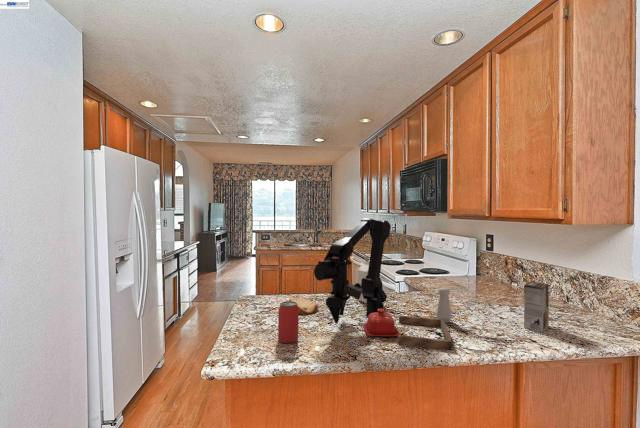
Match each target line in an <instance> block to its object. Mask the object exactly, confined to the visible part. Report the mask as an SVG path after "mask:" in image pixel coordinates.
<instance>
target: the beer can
mask: <svg viewBox="0 0 640 428" xmlns="http://www.w3.org/2000/svg"><path fill="white" fill-rule="evenodd" d="M277 311H278V319H277V323H278V324H277V325H278V327H277V329H278V331H277V338H278V341H279V342H281V343H283V344H291V343H296V342H297V341H298V340H299V315H300V314H299V310H298V306H297V303H296V302H293V301H289V300H287V301H286V300H285V301H281V302H280V303H279V307H278V310H277Z"/></svg>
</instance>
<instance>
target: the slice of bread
mask: <svg viewBox="0 0 640 428" xmlns="http://www.w3.org/2000/svg"><path fill="white" fill-rule="evenodd" d="M288 299H289V300H288V301H293V302H296V303H297V306H298V310H299V315H303V316H311V315H315V314H316V313H317V312H318V311H319V306H318V304H317V302H315V301H312V300H309V299H305V298H298V297H289V298H288Z"/></svg>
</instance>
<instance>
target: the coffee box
mask: <svg viewBox="0 0 640 428" xmlns="http://www.w3.org/2000/svg"><path fill="white" fill-rule="evenodd" d="M523 287H524V291H523V292H524V293H523V295H524V297H523V298H524V300H523V302H524V304H523V308H524V309H523V310H524V311H523V328H524V329H528V330H532V331H536V332H540V333H544V332H545V331H546V330H547V329H548V327H549V324H550V323H549V322H550V321H549V317H550V315H549V312H550V311H549V308H550V307H549V305H550V303H549V301H550V300H549V296H550V293H549V291H550V290H549V288H550V287H549V283H542V282H535V281H529V282H527V283H525V284H524V286H523Z"/></svg>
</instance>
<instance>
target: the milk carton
mask: <svg viewBox="0 0 640 428" xmlns="http://www.w3.org/2000/svg"><path fill="white" fill-rule="evenodd" d="M368 268H369V261H366V260H363V263H362V264H361V266H360V267H359V268H358V269H357V283H359V284H361V283H362V278H365V277H366V276H367V275H368ZM358 301H359V302H361V301H362V303H363V302H364V303H363V304H366V303H367V299H364V298H363V295H362V293H361V296H360V298H359V300H358Z"/></svg>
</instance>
